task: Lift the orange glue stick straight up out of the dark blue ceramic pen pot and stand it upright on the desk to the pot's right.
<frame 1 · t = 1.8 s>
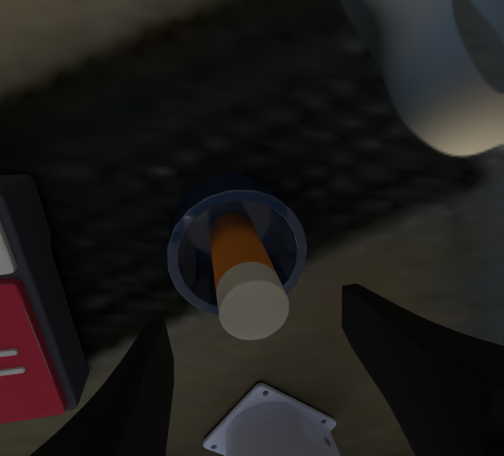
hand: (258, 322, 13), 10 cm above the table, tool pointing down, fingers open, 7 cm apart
pen pot: (231, 231, 22), on the table
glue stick: (232, 234, 22), resting on pen pot
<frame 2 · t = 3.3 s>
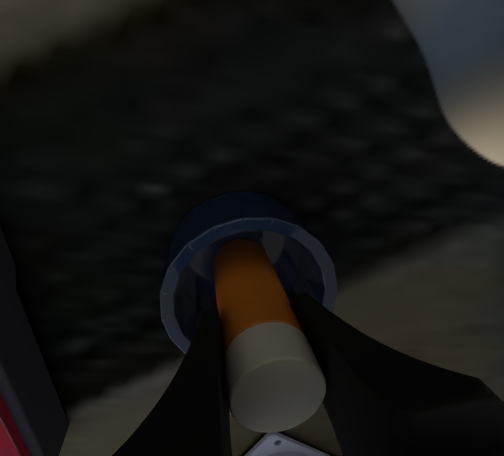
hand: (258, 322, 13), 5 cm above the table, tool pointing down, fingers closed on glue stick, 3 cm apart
pen pot: (239, 260, 18), on the table
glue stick: (240, 264, 18), point 1 cm above the table, touching gripper, pen pot
when the fingers open (5 cm above the table, at t = 7.2 s): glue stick stays where it is, on the table.
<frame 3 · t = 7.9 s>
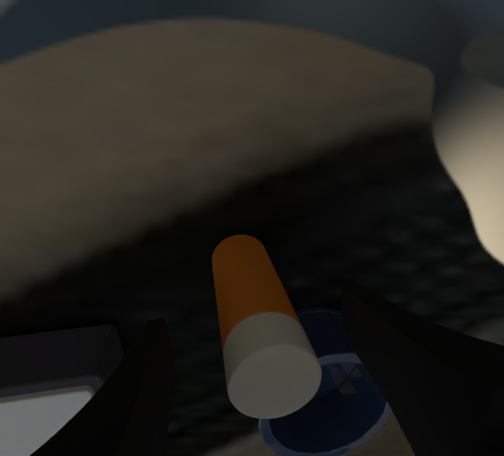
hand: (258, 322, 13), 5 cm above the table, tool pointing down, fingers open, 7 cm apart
pen pot: (306, 357, 21), on the table
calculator: (47, 430, 20), on the table
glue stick: (239, 259, 18), on the table
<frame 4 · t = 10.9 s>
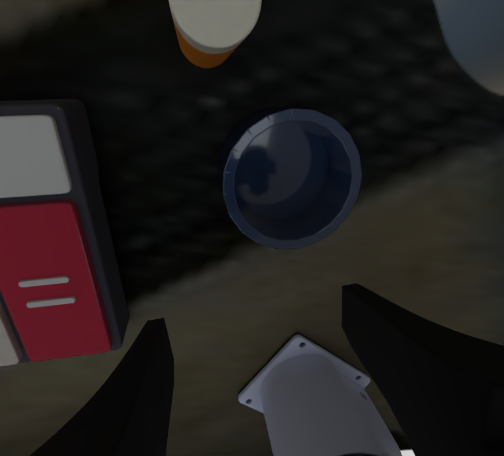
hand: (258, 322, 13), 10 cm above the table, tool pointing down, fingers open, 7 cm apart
pen pot: (277, 169, 22), on the table
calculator: (19, 231, 21), on the table
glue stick: (205, 38, 18), on the table
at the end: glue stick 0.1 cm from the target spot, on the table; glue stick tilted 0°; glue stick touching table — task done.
